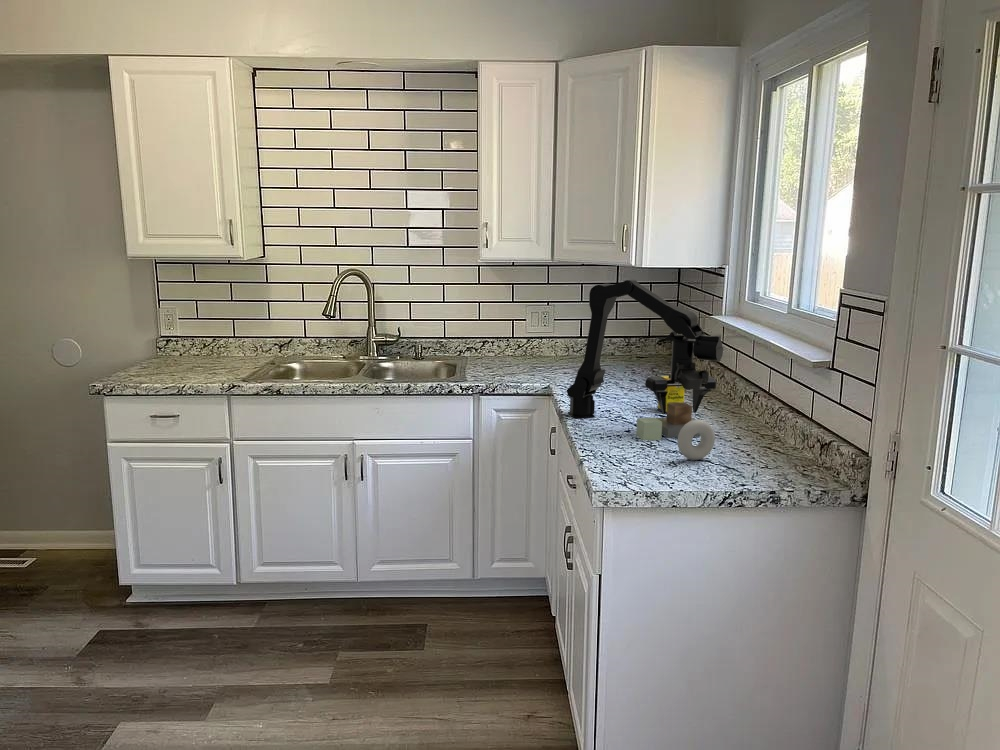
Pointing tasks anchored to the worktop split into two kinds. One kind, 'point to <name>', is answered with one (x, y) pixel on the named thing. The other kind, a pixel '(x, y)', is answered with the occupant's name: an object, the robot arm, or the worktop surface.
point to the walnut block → (679, 413)
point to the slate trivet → (671, 428)
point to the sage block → (649, 428)
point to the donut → (687, 435)
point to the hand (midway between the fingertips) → (679, 413)
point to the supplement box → (673, 394)
